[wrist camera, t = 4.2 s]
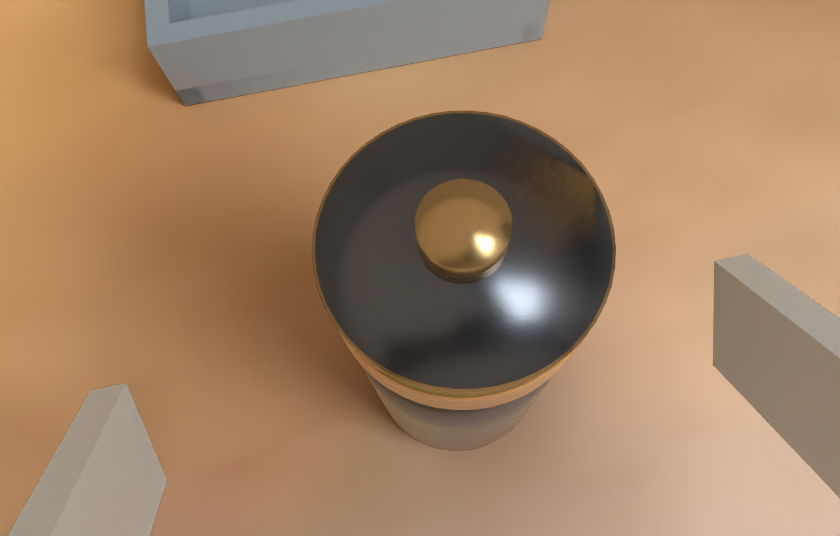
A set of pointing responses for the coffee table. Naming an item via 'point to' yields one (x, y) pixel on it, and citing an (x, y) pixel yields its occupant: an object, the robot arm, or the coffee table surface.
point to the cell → (462, 269)
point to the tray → (319, 38)
